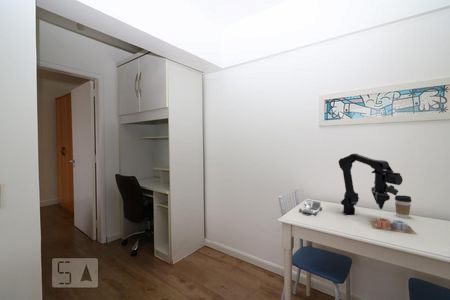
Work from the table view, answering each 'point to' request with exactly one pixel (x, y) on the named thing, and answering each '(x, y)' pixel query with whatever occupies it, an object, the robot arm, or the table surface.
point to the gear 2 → (400, 225)
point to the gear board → (409, 229)
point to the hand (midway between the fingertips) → (379, 206)
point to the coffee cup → (402, 206)
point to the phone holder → (311, 207)
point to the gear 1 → (383, 223)
